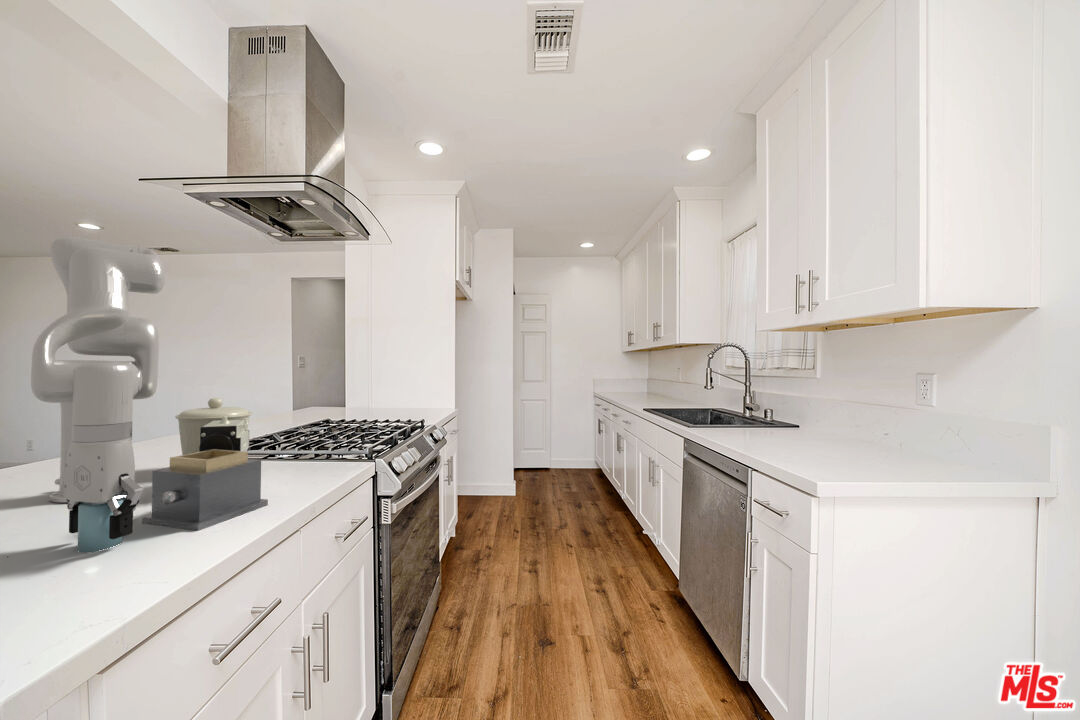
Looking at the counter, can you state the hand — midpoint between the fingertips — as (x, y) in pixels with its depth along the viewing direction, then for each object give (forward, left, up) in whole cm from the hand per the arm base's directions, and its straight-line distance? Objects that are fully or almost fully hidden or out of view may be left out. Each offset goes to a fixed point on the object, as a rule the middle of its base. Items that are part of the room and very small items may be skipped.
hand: (100, 533), depth 78 cm
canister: (-31, +47, -2) cm, 56 cm away
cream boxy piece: (-14, +36, -2) cm, 39 cm away
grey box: (+2, +18, -2) cm, 18 cm away
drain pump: (0, 0, -2) cm, 2 cm away
